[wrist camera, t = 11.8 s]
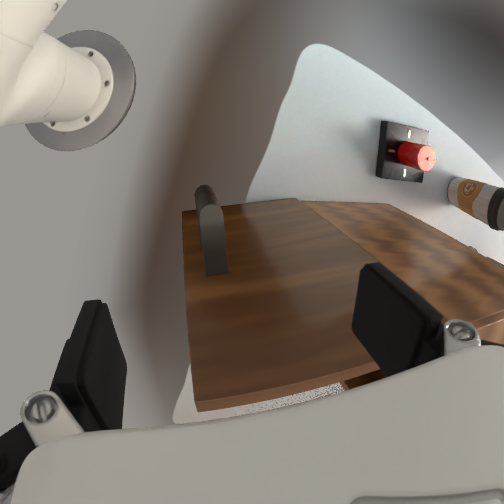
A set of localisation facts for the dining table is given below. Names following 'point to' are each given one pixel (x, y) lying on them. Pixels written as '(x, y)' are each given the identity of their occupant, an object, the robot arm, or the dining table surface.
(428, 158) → the valve knob
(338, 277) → the cupboard door
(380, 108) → the dining table surface
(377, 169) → the valve panel
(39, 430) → the robot arm
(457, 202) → the coffee cup
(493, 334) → the cupboard
